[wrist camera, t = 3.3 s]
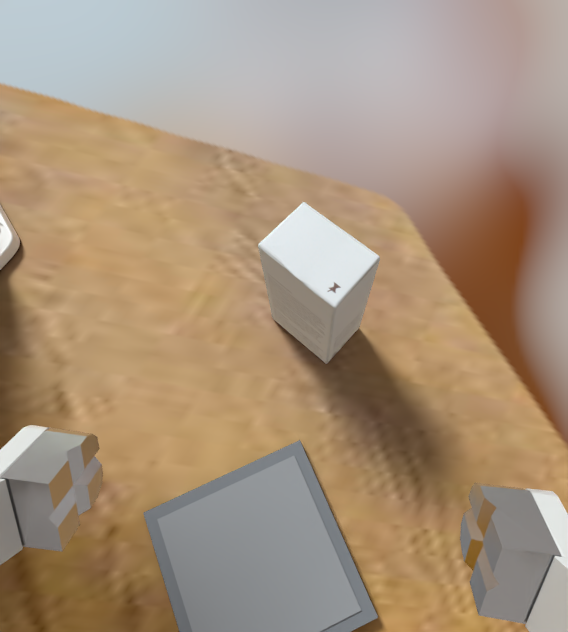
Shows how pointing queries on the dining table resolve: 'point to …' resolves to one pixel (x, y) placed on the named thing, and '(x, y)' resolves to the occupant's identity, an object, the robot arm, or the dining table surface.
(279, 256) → the skincare box
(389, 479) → the dining table surface
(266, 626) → the plate
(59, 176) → the dining table surface
